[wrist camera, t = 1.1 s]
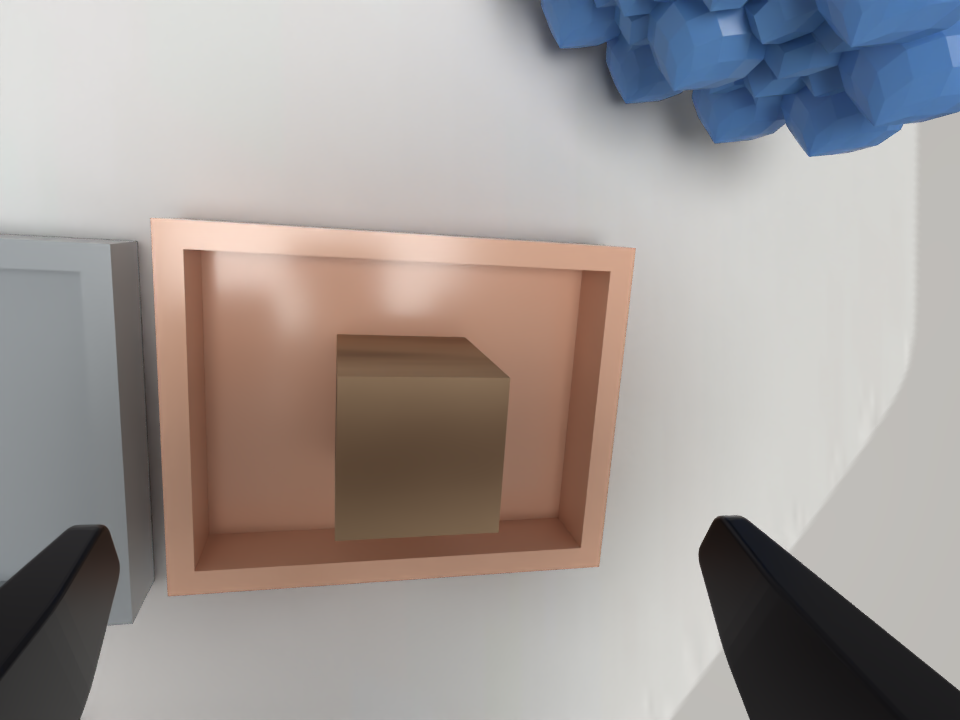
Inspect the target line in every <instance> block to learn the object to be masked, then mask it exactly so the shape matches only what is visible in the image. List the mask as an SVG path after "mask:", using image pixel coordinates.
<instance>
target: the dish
mask: <svg viewBox="0 0 960 720" xmlns="http://www.w3.org/2000/svg"><path fill="white" fill-rule="evenodd" d="M150 219H151V241H152V263H153V284H154V306H155V328H156V350H157V372H158V394H159V415H160V437H161V459H162V481H163V503H164V524H165V546H166V568H167V590H168V596H180V595H194V594H209V593H223V592H238V591H252V590H267V589H281V588H296V587H311V586H325V585H340V584H354V583H369V582H383V581H398V580H412V579H427V578H441V577H456V576H470V575H485V574H499V573H514V572H528V571H543V570H557V569H572V568H587V567H599V562H600V554H601V545H602V536H603V528H604V519H605V510H606V502H607V493H608V484H609V476H610V467H611V458H612V449H613V441H614V432H615V423H616V415H617V406H618V397H619V389H620V380H621V371H622V363H623V354H624V345H625V337H626V328H627V319H628V311H629V302H630V293H631V285H632V276H633V267H634V259H635V250H636V248H628V247H617V246H606V245H594V244H578V243H563V242H547V241H531V240H515V239H499V238H483V237H467V236H451V235H435V234H420V233H404V232H388V231H372V230H356V229H340V228H324V227H308V226H292V225H277V224H261V223H245V222H229V221H213V220H197V219H181V218H150ZM337 334H349V335H391V336H433V337H465V338H466V339H468V340H469V341H470V342H471V343H472V344H473V345H474V346H475V347H477V348H478V349H479V350H480V351H481V352H482V353H483V354H484V355H485V356H487V357H488V358H489V359H490V360H491V361H492V362H493V363H494V364H495V365H497V366H498V367H499V368H500V369H501V370H502V371H503V372H504V373H505V374H507V375H508V376H509V377H510V388H509V401H508V415H507V428H506V441H505V454H504V467H503V480H502V493H501V506H500V519H499V532H498V533H479V534H460V535H441V536H422V537H403V538H384V539H365V540H346V541H335V417H336V356H337Z"/></svg>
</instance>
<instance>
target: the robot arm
mask: <svg viewBox="0 0 960 720" xmlns="http://www.w3.org/2000/svg"><path fill="white" fill-rule="evenodd" d="M699 563H700V567H701V571H702V574H703V578H704V582H705V585H706V589H707V592H708V596H709V600H710V603H711V607H712V611H713V614H714V618H715V621H716V625H717V629H718V632H719V636H720V639H721V643H722V646H723V649H724V652H725V655H726V658H727V661H728V664H729V666H730V669H731V672H732V674H733V677H734V679H735V682H736V685H737V687H738V690H739V693H740V695H741V698H742V700H743V703H744V706H745V708H746V711H747V713H748V716H749V718H750V720H960V691H959V690H958V689H957V688H956V687H954V686H953V685H952V684H951V683H949V682H948V681H947V680H946V679H944V678H943V677H942V676H941V675H939V674H938V673H937V672H936V671H935V670H933V669H932V668H931V667H930V666H928V665H927V664H926V663H925V662H923V661H922V660H921V659H920V658H918V657H917V656H916V655H915V654H913V653H912V652H911V651H910V650H909V649H907V648H906V647H905V646H904V645H902V644H901V643H900V642H899V641H897V640H896V639H895V638H894V637H892V636H891V635H890V634H889V633H887V632H886V631H885V630H884V629H882V628H881V627H880V626H879V625H878V624H876V623H875V622H874V621H873V620H871V619H870V618H869V617H868V616H866V615H865V614H864V613H863V612H861V611H860V610H859V609H858V608H856V607H855V606H854V605H852V603H850V602H849V601H848V600H846V599H845V598H844V597H843V596H842V595H840V594H839V593H838V592H837V591H835V590H834V589H833V588H832V587H830V586H829V585H828V584H827V583H826V582H824V581H823V580H822V579H821V578H819V577H818V576H817V575H816V574H814V573H813V572H812V571H810V570H809V569H808V568H807V567H806V566H804V565H803V564H802V563H801V562H799V561H798V560H797V559H796V558H795V557H793V556H792V555H791V554H790V553H788V552H787V551H786V550H785V549H783V548H782V547H781V546H780V545H778V544H777V543H776V542H775V541H773V540H772V539H771V538H770V537H769V536H767V535H766V534H765V533H764V532H762V531H761V530H760V529H759V528H757V527H756V526H755V525H754V524H752V523H751V522H750V521H749V520H747V519H746V518H744V517H742V516H737V515H732V516H718V517H717V518H715V519H714V521H713V522H712V524H711V526H710V528H709V530H708V532H707V534H706V536H705V538H704V540H703V542H702V543H701V545H700V548H699ZM119 574H120V563H119V559H118V556H117V552H116V549H115V546H114V543H113V540H112V537H111V534H110V531H109V529H108V528H107V527H106V526H105V525H101V524H88V525H74V526H71V527H70V528H68V529H66V530H65V531H64V532H63V533H62V534H60V535H59V536H58V537H57V538H56V539H55V540H53V541H52V542H51V543H50V544H49V545H48V546H47V547H45V548H44V549H43V550H42V551H41V552H40V553H38V554H37V555H36V556H35V557H34V558H33V559H32V560H30V561H29V562H28V563H27V564H26V565H25V566H23V567H22V568H21V569H20V570H19V571H18V572H17V573H15V574H14V575H13V576H12V577H11V578H10V579H8V580H7V581H6V582H5V583H4V584H3V585H2V586H0V720H80V718H81V715H82V713H83V710H84V707H85V704H86V701H87V698H88V695H89V693H90V689H91V686H92V682H93V679H94V675H95V671H96V667H97V663H98V659H99V655H100V651H101V647H102V644H103V640H104V636H105V632H106V628H107V624H108V620H109V616H110V612H111V608H112V604H113V600H114V596H115V592H116V588H117V584H118V580H119Z"/></svg>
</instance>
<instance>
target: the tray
mask: <svg viewBox="0 0 960 720" xmlns="http://www.w3.org/2000/svg"><path fill="white" fill-rule="evenodd" d="M88 524H101V525H105V526H106V527H107V528H108V529H109V531H110V534H111V537H112V540H113V543H114V546H115V549H116V552H117V556H118V559H119V563H120V574H119V580H118V584H117V588H116V592H115V596H114V600H113V604H112V608H111V612H110V616H109V620H108V624H107V626H108V625H120V624H133V622H134V620H135V618H136V616H137V614H138V612H139V610H140V608H141V606H142V604H143V602H144V600H145V598H146V596H147V594H148V592H149V590H150V588H151V586H152V584H153V582H154V563H153V543H152V523H151V503H150V483H149V464H148V444H147V424H146V404H145V385H144V365H143V345H142V325H141V305H140V286H139V266H138V246H137V241H122V240H104V239H85V238H67V237H48V236H30V235H11V234H0V586H2V585H3V584H4V583H5V582H6V581H7V580H8V579H10V578H11V577H12V576H13V575H14V574H15V573H17V572H18V571H19V570H20V569H21V568H22V567H23V566H25V565H26V564H27V563H28V562H29V561H30V560H32V559H33V558H34V557H35V556H36V555H37V554H38V553H40V552H41V551H42V550H43V549H44V548H45V547H47V546H48V545H49V544H50V543H51V542H52V541H53V540H55V539H56V538H57V537H58V536H59V535H60V534H62V533H63V532H64V531H65V530H66V529H68V528H70V527H71V526H74V525H88Z"/></svg>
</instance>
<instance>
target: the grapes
mask: <svg viewBox="0 0 960 720" xmlns="http://www.w3.org/2000/svg"><path fill="white" fill-rule="evenodd" d="M541 7H542V9H543V12H544V15H545V17H546V20H547V23H548V26H549V28H550V31H551V33H552V35H553V37H554V39H555V40H556V42H557V44H558V46H559V47H560V48H582V47H590V46H598V45H600V44H602V43H605V42H607V49H606V63H607V66H608V68H609V71H610V74H611V77H612V80H613V82H614V84H615V86H616V88H617V90H618V91H619V93H620V95H621V97H622V98H623V100H624V102H625V103H626V104H628V103H643V102H652V101H661V100H664V99H666V98H669V97H672V96H675V95H677V94H680V93H682V92H683V91H687V90H693V93H692V100H693V103H694V106H695V109H696V112H697V115H698V118H699V119H700V121H701V123H702V124H703V126H704V127H705V129H706V131H707V132H708V134H709V135H710V137H711V139H712V140H713V142H714V143H725V142H735V141H746V140H752V139H756V138H759V137H762V136H765V135H769V134H772V133H774V132H775V131H777V130H778V129H779V128H780V127H782V126H783V125H784V124H785V123H786V125H787V127H788V129H789V130H790V132H791V133H792V134H793V136H794V137H795V139H796V140H797V142H798V143H799V145H800V146H801V147H802V148H803V150H804V151H805V152H806V154H807V155H808V156H809V157H812V156H822V155H833V154H842V153H850V152H853V151H857V150H861V149H865V148H868V147H872V146H876V145H878V144H880V143H881V142H883V141H884V140H886V139H887V138H889V137H890V136H892V135H893V134H895V133H896V132H898V131H899V130H901V128H902V126H903V124H907V123H917V122H924V121H927V120H931V119H934V118H938V117H942V116H946V115H949V114H952V113H956V112H959V111H960V0H541Z"/></svg>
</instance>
